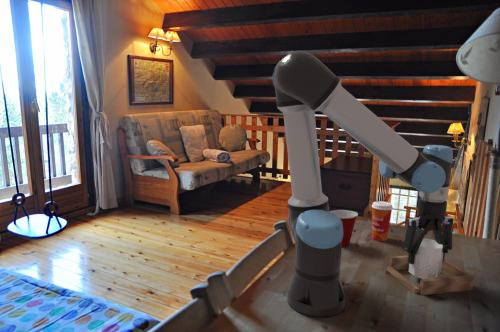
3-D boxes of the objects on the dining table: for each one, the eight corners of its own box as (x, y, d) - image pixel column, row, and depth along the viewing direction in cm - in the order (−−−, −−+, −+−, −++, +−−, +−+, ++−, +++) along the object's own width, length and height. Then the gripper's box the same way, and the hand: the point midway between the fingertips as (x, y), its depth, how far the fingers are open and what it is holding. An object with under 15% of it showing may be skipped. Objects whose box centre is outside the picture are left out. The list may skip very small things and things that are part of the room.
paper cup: (364, 236, 147) (367, 201, 144) (381, 234, 149) (384, 200, 147) (377, 243, 140) (380, 207, 137) (394, 241, 142) (397, 205, 139)
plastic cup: (339, 236, 147) (341, 206, 144) (362, 245, 138) (364, 213, 136) (319, 241, 140) (321, 211, 138) (342, 251, 132) (344, 219, 130)
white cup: (442, 282, 108) (446, 250, 106) (413, 279, 110) (416, 247, 108) (435, 270, 116) (438, 239, 114) (407, 267, 117) (411, 237, 115)
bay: (417, 295, 103) (418, 282, 103) (384, 268, 119) (385, 256, 118) (472, 289, 107) (474, 276, 106) (433, 264, 123) (434, 253, 122)
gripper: (409, 204, 103) (401, 281, 107) (473, 201, 107) (463, 275, 111) (393, 196, 110) (386, 269, 114) (454, 194, 114) (445, 264, 118)
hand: (424, 272), depth 113 cm, fingers closed on white cup, 7 cm apart
